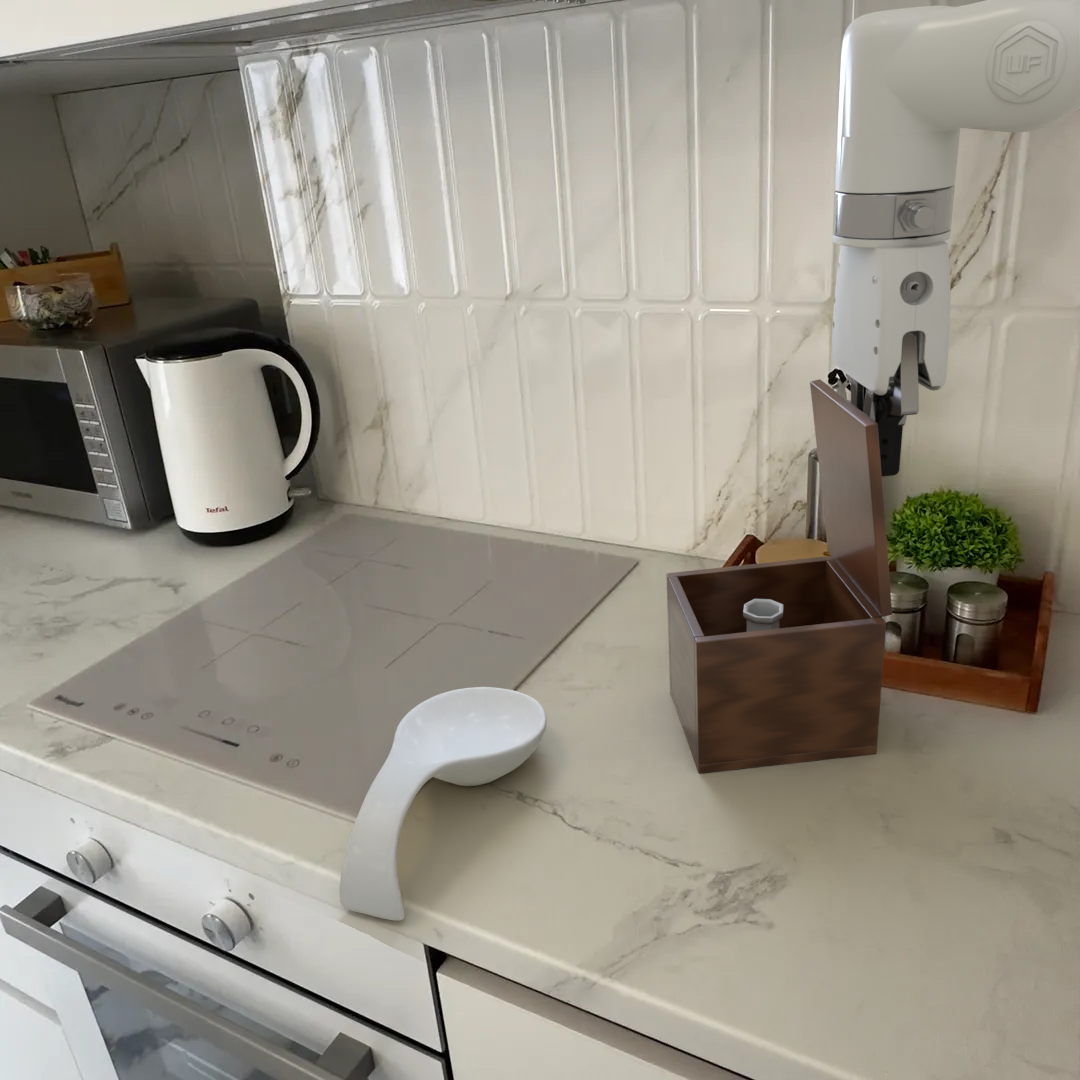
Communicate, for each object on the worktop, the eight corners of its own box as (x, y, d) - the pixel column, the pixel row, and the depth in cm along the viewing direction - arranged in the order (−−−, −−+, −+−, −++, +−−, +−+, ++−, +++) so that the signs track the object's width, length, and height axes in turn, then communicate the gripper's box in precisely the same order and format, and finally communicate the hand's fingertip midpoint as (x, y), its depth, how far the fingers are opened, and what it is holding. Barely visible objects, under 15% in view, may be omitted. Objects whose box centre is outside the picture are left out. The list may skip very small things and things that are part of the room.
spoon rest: (442, 710, 87) (432, 640, 84) (568, 727, 83) (562, 655, 80) (298, 905, 67) (278, 822, 64) (455, 940, 63) (442, 854, 60)
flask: (818, 701, 82) (823, 596, 78) (789, 749, 76) (792, 638, 72) (737, 681, 86) (737, 580, 81) (703, 725, 80) (702, 619, 76)
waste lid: (865, 426, 65) (878, 423, 65) (809, 381, 76) (820, 378, 76) (881, 617, 71) (892, 615, 71) (827, 551, 82) (837, 549, 82)
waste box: (698, 773, 76) (696, 642, 71) (669, 691, 86) (666, 572, 82) (876, 753, 76) (886, 622, 71) (826, 674, 87) (832, 555, 82)
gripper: (1002, 225, 59) (969, 506, 66) (901, 201, 72) (884, 437, 80) (879, 236, 58) (860, 516, 66) (801, 210, 72) (793, 445, 80)
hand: (873, 472), depth 73 cm, fingers closed
